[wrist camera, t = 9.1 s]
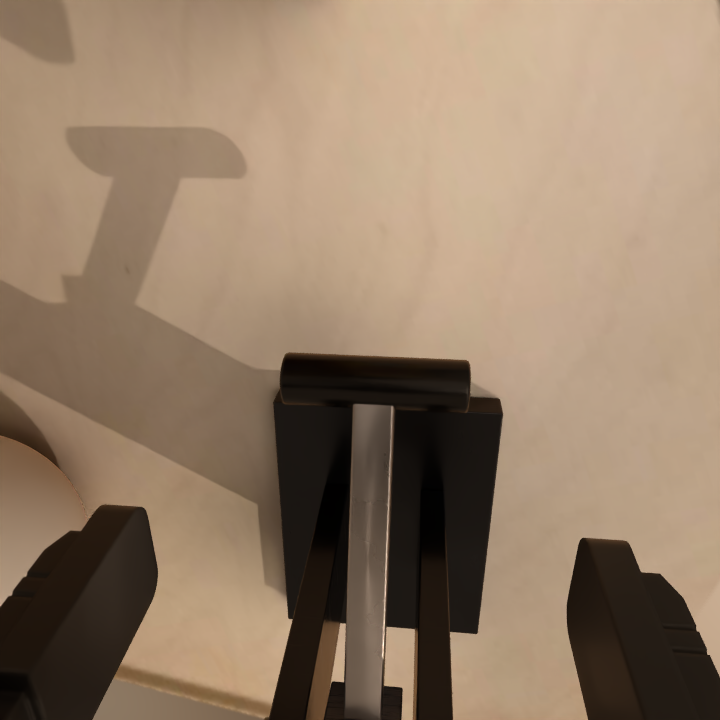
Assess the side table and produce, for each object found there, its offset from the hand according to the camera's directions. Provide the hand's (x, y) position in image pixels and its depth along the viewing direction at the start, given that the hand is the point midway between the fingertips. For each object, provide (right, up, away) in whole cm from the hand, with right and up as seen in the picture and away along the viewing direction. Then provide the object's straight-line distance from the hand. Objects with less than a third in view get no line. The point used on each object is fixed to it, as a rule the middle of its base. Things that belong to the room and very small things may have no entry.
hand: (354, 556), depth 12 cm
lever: (0, -3, +7) cm, 8 cm away
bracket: (+1, -3, +17) cm, 17 cm away
